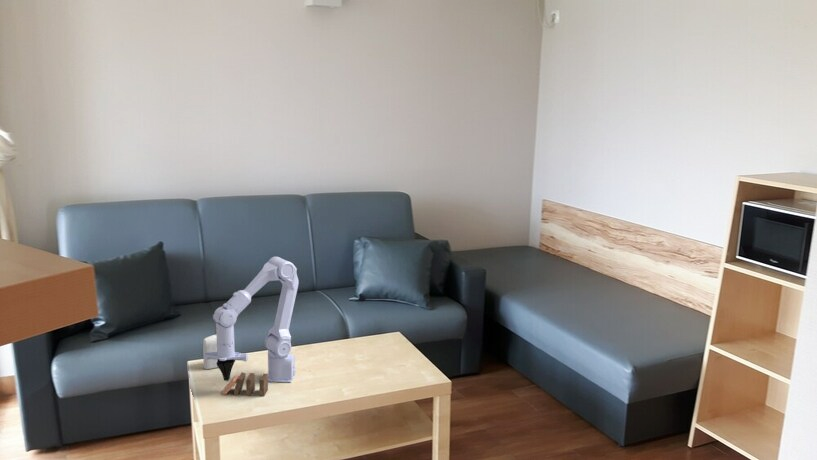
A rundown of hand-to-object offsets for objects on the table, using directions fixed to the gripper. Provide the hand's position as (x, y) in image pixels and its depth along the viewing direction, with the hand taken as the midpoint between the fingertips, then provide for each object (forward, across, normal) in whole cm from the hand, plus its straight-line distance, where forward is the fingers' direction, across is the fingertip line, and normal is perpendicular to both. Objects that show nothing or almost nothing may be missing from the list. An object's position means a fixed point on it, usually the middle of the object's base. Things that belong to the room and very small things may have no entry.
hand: (226, 379), depth 211 cm
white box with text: (+5, -10, +20) cm, 23 cm away
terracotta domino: (+4, -1, 0) cm, 4 cm away
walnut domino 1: (+4, +4, 0) cm, 6 cm away
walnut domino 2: (+4, +8, 0) cm, 9 cm away
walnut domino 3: (+4, +13, 0) cm, 13 cm away
